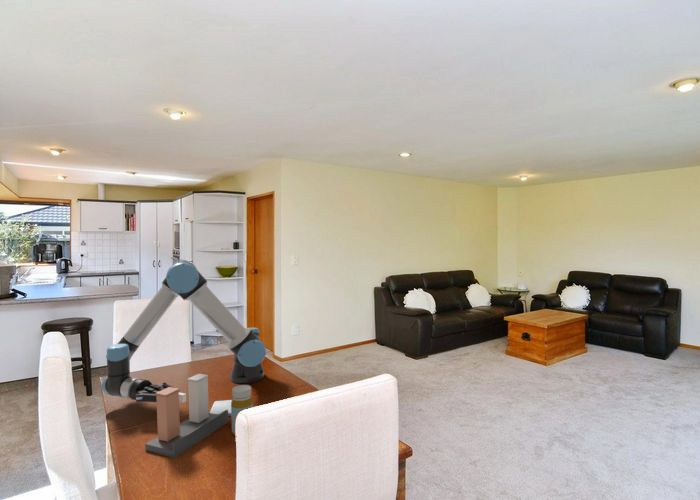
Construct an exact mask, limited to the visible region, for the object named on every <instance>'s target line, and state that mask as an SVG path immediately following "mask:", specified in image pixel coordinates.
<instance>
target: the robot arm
mask: <svg viewBox="0 0 700 500" xmlns="http://www.w3.org/2000/svg"><path fill="white" fill-rule="evenodd" d="M165 276H166V277H165V278H164V279H163V281H162V282H161V287H160V288H159V290H158V291H156V294H155V295H154V296H153V297H152V299H151V300H150V301H149V303H147V305H146V307H144V309H143V310H142V312H141V313H140V314H139V316H138V317H137V318H136V320H135V321H134V322H133V323H132V324H131V326H130V327H129V328H128V330H127V331H126V332H125V334H124V335H123V337H121V339H120V340H119V342H117V344H112V345H110V346H108V347H107V348H106V357H105V358H106V369H107V370H106V371H107V376H105V378H103V380H102V383H101V390H102V392H103V393H104V394H105V395H110V396H112V397H119V398H124V399H130V400H133V401H136V402H137V403H141V402H148V403H149V402H150V403H157V397H156V396H155V393H157V392H159V391H161V390H163V389H166V388H168V387H173V388H176V387H174V386H172V385H169V384H168V383H167V382H163V383H162V384H161V385H159V384H153V383H152V382H151V381H150V380H149V379H143V378H140V377H139V378H138V377H132V376H131V359H132V357H133V356H134V355H135V353H136V352H137V350H138V349H139V347H140V346H141V345H142V343H143V342H144V341H145V339H146V338H147V337H148V336H149V334H150V333H151V331H152V330H153V329H154V328H155V326H156V325H157V324H158V322H159V321H160V320H161V318H162V317H163V316H164V315H165V314H166V312H167V311H168V309H169V308H170V307H171V306H172V305H173V303H174V301H176V299H177V298H178V297H180V298H181V299H182V300H183V301H189V302H190V303H191V304H192V305H193V306H194V307H195V308H196V309H197V310H198V311H199V312H200V313H201V314H202V316H204V317H205V319H206V320H207V321H208V322H209V323H210V324H211V325H212V326H213V327H214V329H215V330H217V332H218V333H220V335H221V336H222V337H223V338H224V339H225V340H226V341H227V342H228V346H227V347H228V349H229V350H230V351H231V352H232V353H233V365H232V368H231V373H230V381H231V382H233V383H236V384H250V383H254V382H259V381H261V380H262V379H264V377H265V370H264V368H263V365H262V363H263V361H264V360H265V358H266V355H267V347H266V345H265V344H264V342H263V341H262V340H261V338H260V329H259V328H258V327H244V326H243V325H242V323H241V322H239V320H238V319H237V318H236V317H235V315H233V314H232V312H231V311H230V310H229V309H228V308H227V307H226V306H225V305H224V304H223V303H222V301H221V300H220V299H219V298H218V297H217V296H216V294H214V293H213V292H212V291H211V289H210V288H209V287H208V280H207V279H206V278H205V277H204V276H203V274H202V273H201V272H199V270H198V269H197V267H196V265H195V264H194V263H192V262H190V261H187V260H179V261H177V262H175V263H173V264H172V265H171V266H170V267H169V269H168V270H167V272H166V275H165ZM185 402H187V393H186V392H185V393H184V392H180V391H179V403H185Z"/></svg>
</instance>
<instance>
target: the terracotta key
mask: <svg viewBox="0 0 700 500" xmlns="http://www.w3.org/2000/svg"><path fill="white" fill-rule="evenodd" d="M173 387H174V386H172V387H168V388H166V389H163V390H161V391H159V392H157V393H155V396H156V397H157V402H156V419H157V421H156V422H157V437H158V440H162V441H167V442H168V441H170V440H171V439H173V438H175V437H176V436H178V435H179V434H180V424H181V423H180V402H179V392H180V388H178V387H175V388H173Z"/></svg>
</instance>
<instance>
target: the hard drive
mask: <svg viewBox="0 0 700 500" xmlns="http://www.w3.org/2000/svg"><path fill="white" fill-rule="evenodd" d="M231 402H232V399H227V400H216V401H214V402H213V404H212V407H211V409H210V410H209V413H213V414H218V415H219V414H220V413H222V412H223V411H225V410H228V417H231Z"/></svg>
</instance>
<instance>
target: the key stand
mask: <svg viewBox="0 0 700 500" xmlns="http://www.w3.org/2000/svg"><path fill="white" fill-rule="evenodd" d="M228 423H229V416H228V410H225V411H223V412H222V413H220V414H219V415H218V414H213V413H210V412H209V417H208V418H206V419H204V420H203V421H201V422H199V423H196V422H191V421H189V418H188V419H186V420H184V421H183V422H181V423H180V434H179V435H178V436H176V437H175V438H173V439H171V440H170V441H168V442H167V441H162V440H158V436H156V437H154V438H152V439H151V440H149V441H148V442H146V443H144V447H145V448H144V449H145V451H148V452H151V453H154V454H158V455H162V456H166V457H170V458H175V459H176V458H177V457H178V456H180V455H182V454H183V453H184V452H186V451H187V450H189V449H190V448H192V447H193V446H195V445H197V444H198V443H199V442H201V441H202V440H204V439H205V438H207V437H208V436H210V435H211V434H213V433H215V432H216V431H218V429H220V428H222V427H223V426H225V425H226V424H228Z"/></svg>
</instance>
